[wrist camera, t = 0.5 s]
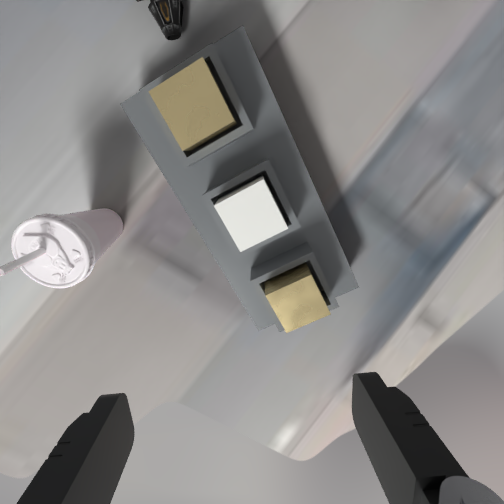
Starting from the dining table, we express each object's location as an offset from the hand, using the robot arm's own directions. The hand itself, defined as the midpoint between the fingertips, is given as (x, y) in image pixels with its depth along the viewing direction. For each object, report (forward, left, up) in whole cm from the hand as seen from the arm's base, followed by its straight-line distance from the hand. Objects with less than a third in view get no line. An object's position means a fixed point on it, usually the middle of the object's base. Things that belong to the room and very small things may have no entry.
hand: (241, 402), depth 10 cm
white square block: (-2, -3, -18) cm, 18 cm away
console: (-2, -3, -24) cm, 24 cm away
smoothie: (+14, -8, -24) cm, 29 cm away
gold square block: (-2, +6, -18) cm, 19 cm away
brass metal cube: (-2, -12, -18) cm, 22 cm away
